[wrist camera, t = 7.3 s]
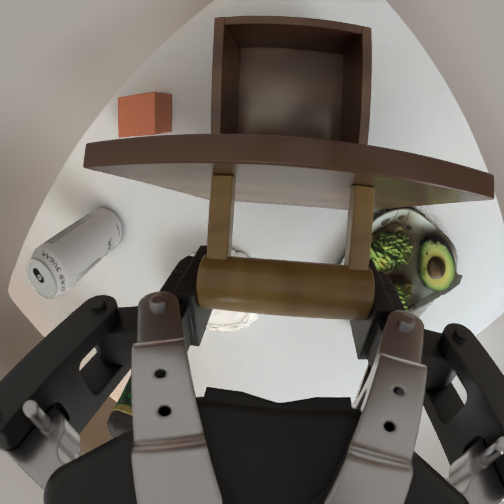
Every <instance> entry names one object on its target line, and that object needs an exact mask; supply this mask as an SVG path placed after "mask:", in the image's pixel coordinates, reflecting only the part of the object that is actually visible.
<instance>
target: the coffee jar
mask: <svg viewBox="0 0 504 504" xmlns="http://www.w3.org/2000/svg"><path fill="white" fill-rule="evenodd" d="M107 425H108V429H109V432H110V434H111V436H112V437H113V438H115V437H117V436H119V435H121V434H122V433H124V432H126V431H127V430H129V429H131V428H133V418H132V390H131V376H130V378H129V380H128V382H127V384H126V386H125V388H124V390H123V393H122V395H121V397H120V398H119V400H118V402H117V404H116V406H115V407H114V408H113V410H112V412H111V414H110V417H109V420H108V422H107Z"/></svg>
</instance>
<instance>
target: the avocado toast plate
mask: <svg viewBox="0 0 504 504" xmlns="http://www.w3.org/2000/svg"><path fill="white" fill-rule="evenodd" d="M369 259H372V260H373V263H374V265H375V267H376V269H377V271H382V272H384V273H385V274H386V275H387V276H388V277H389V278H390V279H391V281H392V283H393V285H394V287H395V289H396V291H397V293H398V295H399V297H400V299H401V301H402V304H403V306H404V308H405V310H406V311H408V312H411V313H413V314H415V315H416V316H417V317H419V316H420V315H421V314H422V313H423V312H424V311H425V310H426V309H427V308H428V307H429V306H430V305H431V303H432V302H433V301H434V300H435V299H436V298H438V297H439V296H441V295H444V294H446V293H447V292H449V291H450V290H452V289H453V288H454V287H456V286H457V285H458V284H459V283H460V281H461V278H462V275H458V274H457V272H456V269H457V253H456V250H455V247H454V245H453V244H452V242H451V241H450V239H449V238H448V237H447V236H446V235H445V234H444V233H443V232H442V231H440V230H439V229H438V228H437V227H436V226H434V225H433V224H432V223H431V222H430V221H429V220H428V219H427V218H426V217H425V216H424V215H423V214H422V213H420V212H419V211H417V210H416V209H415V208H413V207H400V208H392V209H388V210H386V211H384V212H382V213H380V214H378V215H377V216H376V217H374V218H373V225H372V238H371V248H370V258H369ZM344 261H345V256H344V258H343V259H342V261H341V263H340V264H339V265H344ZM352 334H353V333H352Z"/></svg>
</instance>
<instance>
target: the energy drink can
mask: <svg viewBox="0 0 504 504" xmlns="http://www.w3.org/2000/svg"><path fill="white" fill-rule="evenodd" d="M121 239H122V223H121V221H120V219H119V217H118V216H117V215H116V214H115V213H114V212H112V211H110V210H108V209H105V208H98V209H96V210H94V211H92V212H91V213H89V214H87V215H86V216H84V217H83V218H81V219H79V220H78V221H76V222H75V223H73V224H72V225H70V226H68V227H67V228H65V229H64V230H62V231H61V232H59V233H58V234H56V235H55V236H53V237H52V238H50V239H49V240H48V241H46V242H45V243H43V244H42V245H40V246H39V247H38V248H36V249H35V251H34V252H33V255H32V258H31V259H30V260H29V261H28V263H27V266H26V270H27V275H28V278H29V280H30V282H31V284H32V286H33V287H34V289H35V290H36V291H37V292H38V293H39V294H40V295H41V296H43V297H45V298H48V299H52V298H54V297H55V296H58V295H64V294H65V293H67V292H68V291H69V290H70V289H71V288H72V287H73V286H74V285H75V284H76V283H77V282H78V281H79V280H80V279H81V278H82V277H83V276H84V275H85V274H86V273H87V272H88V271H89V270H90V269H91V268H93V267H94V266H95V265H96V264H97V263H98V262H99V261H100V260H101V259H102V258H103V257H105V256H106V255H107V254H108V253H109V252H110V251H111V250H112V249H114V248H115V247H116V246H117V245H118V244H119V243H120V241H121Z"/></svg>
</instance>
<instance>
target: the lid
mask: <svg viewBox="0 0 504 504" xmlns="http://www.w3.org/2000/svg"><path fill="white" fill-rule="evenodd" d="M83 167H84V168H87V169H91V170H95V171H100V172H104V173H108V174H112V175H116V176H120V177H124V178H128V179H132V180H136V181H140V182H144V183H148V184H152V185H156V186H160V187H163V188H167V189H171V190H175V191H178V192H182V193H186V194H189V195H193V196H197V197H200V198H204V199H207V200H210V205H209V221H208V238H207V254H206V255H204V256H203V258H202V260H201V262H200V265H199V269H198V274H197V283H196V294H197V301H198V304H199V306H200V307H202V308H208V309H217V310H226V311H235V312H245V313H256V314H267V315H279V316H293V317H308V318H325V319H346V320H365V319H367V318H368V316H369V314H370V312H371V309H372V306H373V301H374V294H375V283H374V276H373V273H372V270H371V269H370V268H369V258H370V248H371V238H372V225H373V210H380V209H390V208H400V207H410V206H421V205H432V204H444V203H456V202H468V201H482V200H493V199H494V176H493V175H492V174H489V173H486V172H483V171H480V170H476V169H473V168H470V167H466V166H463V165H459V164H455V163H451V162H448V161H444V160H440V159H436V158H431V157H427V156H423V155H418V154H414V153H409V152H404V151H399V150H393V149H388V148H382V147H376V146H370V145H364V144H357V143H350V142H343V141H334V140H326V139H316V138H306V137H293V136H279V135H259V134H182V135H162V136H148V137H136V138H125V139H116V140H108V141H100V142H93V143H87V144H86V149H85V156H84V164H83ZM234 201H235V202H253V203H269V204H283V205H296V206H308V207H319V208H330V209H340V210H349V213H348V228H347V240H346V251H345V261H344V265H339V264H325V263H312V262H299V261H286V260H273V259H260V258H248V257H235V256H231V247H232V231H233V215H234Z"/></svg>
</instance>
